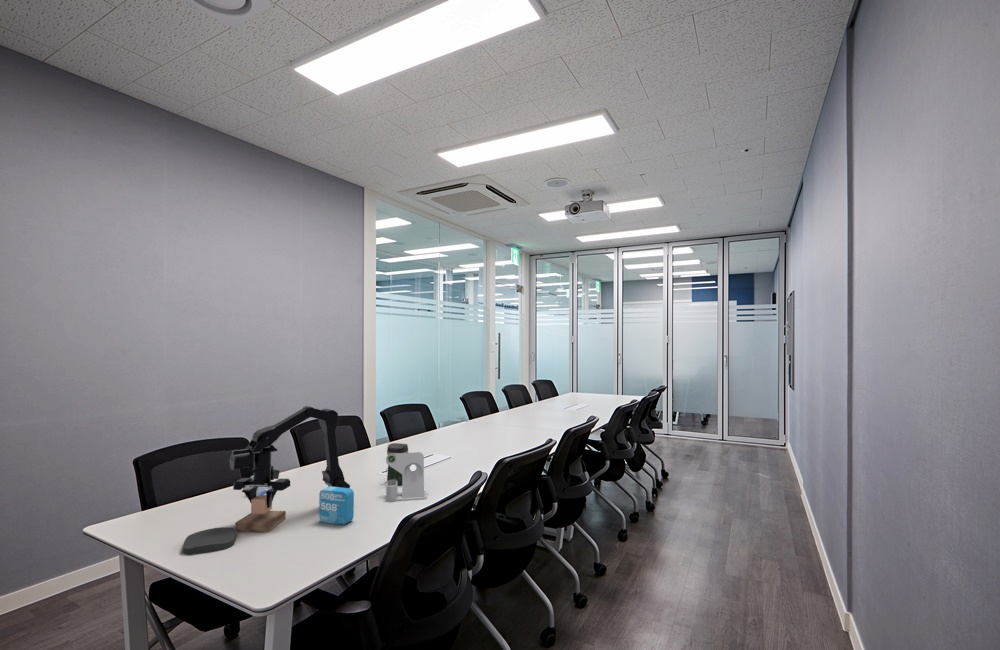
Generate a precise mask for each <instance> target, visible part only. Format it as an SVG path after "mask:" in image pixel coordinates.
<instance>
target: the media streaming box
mask: <svg viewBox="0 0 1000 650" xmlns="http://www.w3.org/2000/svg"><path fill="white" fill-rule="evenodd" d="M237 536H238V531H237V529H236V528H235V527H231V526H230V527H229V526H225V527H224V526H222V527H214V528H208V529H203V530H199V531H197V532H193V533H192V534H189V535H188V536H187V537H186V538H185V539H184V541H183V544H182V554H184V555H187V556H191V555H198V554H204V553H211V552H217V551H222V550H227V549H229V548H232V547H233V546H234V545H235V543H236V541H237V538H238V537H237Z"/></svg>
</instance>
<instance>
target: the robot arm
mask: <svg viewBox="0 0 1000 650" xmlns="http://www.w3.org/2000/svg"><path fill="white" fill-rule="evenodd" d="M309 418H313V419H317V420H318V424H319V426H320V428H321V430H322V432H323V441H324V442H323V443H324V451H325V461H326V468H325V470H322V471H321V473H322V481H323V482H324V484H325V485H326V486H327V487H329V486H331V487H341V488H350V489H351V485H350V484H349V483H348V482H347V481H346V479H345V476H344V473H343V470H342V468H341V466H340V462H339V453H338V452H339V451H338V441H337V431H336V430H337V427H338V424H339V414H338V412H337V411H336V410H334V409H330V408H323V409H319V408H314V407H312V406H308V405H306V406H303V407H302V408H301V409H299V410H297V411H296V412H294V413H292V414H291V415H289V416H287V417H286V418H285V417H284V419H282V420H281V421H279V422H277V423H274V424H272V425H269V426H266V427H263V428H260V429H257V430H256V431H254V433H253V435H252V437H251V438H252V439H251V440H250V442H249V443H248V444H247V445H246V447H245V448H243V449H232V451H231V454H230V458H229V468H230V470H231V471H237V470H241V469H246V468H247V469H248V468H251V466H253V468H252V469H251V473H253V475H254V480H252V478H250V477H242V478H240V479H238V480H236V481H234V483H233V484H232V485H233V486H232V487H233V489H232V490H233V491H241V492H242V493H244V495H245V496H246V497H247V499H248V501H249V503H250V504H251V499H253V498H255V497H257V496H256V491H257V488H258V487H270V489H269V490H268V491H266V494H265V495H266V497H267V508H270V506H271V504H272V505H273V501H274V498H275V497H276V494H277V492H278V491H279V492H281V491H284V490H286V489H287V488H289V487H291V481H290V479H289V478H279V477H280V473H281V470H279V469H274V465H272V453H273V452H278V448H276V447H275V446H274V445H273V444H274V443H275V442H276V441H278V439H279V438H280V437H281V436H282V435H283V434H284V433H286V432H288V431H290V430H291V429H293V428H294V427H297V426H298V425H299V424H301V423H303V422H305V421H307V419H309ZM273 480H274V481H273Z"/></svg>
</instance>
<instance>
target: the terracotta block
mask: <svg viewBox="0 0 1000 650" xmlns="http://www.w3.org/2000/svg"><path fill="white" fill-rule="evenodd" d="M250 504H251V505H250V511H251V512H250V513H251V514H265V513H267V512H268V511H272V510H273V503H272V504H271V506H270V508H267V497H266V494H264V495H258V496H256V497H255V498H253V499H251V503H250Z"/></svg>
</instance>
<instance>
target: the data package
mask: <svg viewBox="0 0 1000 650" xmlns="http://www.w3.org/2000/svg"><path fill="white" fill-rule="evenodd" d="M318 495H319V497H318V498H319V501H318V503H319V505H318V513H319V514H318V519H319V521H320V522H321V523H326V524H334V525H343V526H345V525H346V524H348V523H350V522H351V521H353V520H354V511H355V510H354V507H355V505H354V504H355V503H354V502H355V501H354V500H355V499H354V498H355V491H354V490H353V488H351V487H350V488H341V487H331V486H329V487H328V486H327V487H325V488H323V489H321V490H320V491H319V494H318Z"/></svg>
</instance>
